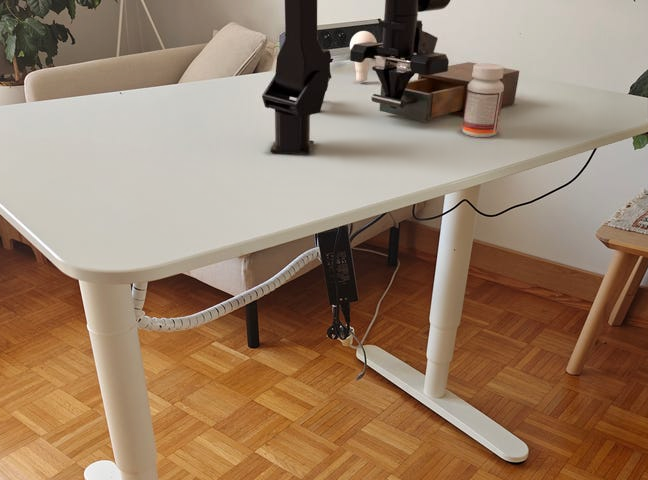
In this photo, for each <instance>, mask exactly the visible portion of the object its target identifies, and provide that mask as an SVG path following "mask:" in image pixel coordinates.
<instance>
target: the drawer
mask: <svg viewBox="0 0 648 480" xmlns="http://www.w3.org/2000/svg"><path fill="white" fill-rule="evenodd" d="M466 86H467V85H463V84H457V83H452V82H447V81H442V80H437V79H432V78H424V79H419V80H418V79H415V80H410V81H409V82H408V84H407V86H406V88H405V91H404V93H403V96H402V98H401V100H400V99H395V98H391V97H386V94H385V92H384V89H383V86H382V84H381V85H380V94H377V93H373V94H372V96H371V102H373V103H376V104H379V112H383V113H386V114H390V115H395V116H399V117H403V118H406V119H411V120H414V121H419V122H423V123H427V122H430V119H432V118H435V117H439V116H443V115H447V114H448V113H451V112H455V111H459V110H463V108H464V101H465V93H466ZM390 106H393V107H397V108H395V109H393V108H391V107H390Z"/></svg>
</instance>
